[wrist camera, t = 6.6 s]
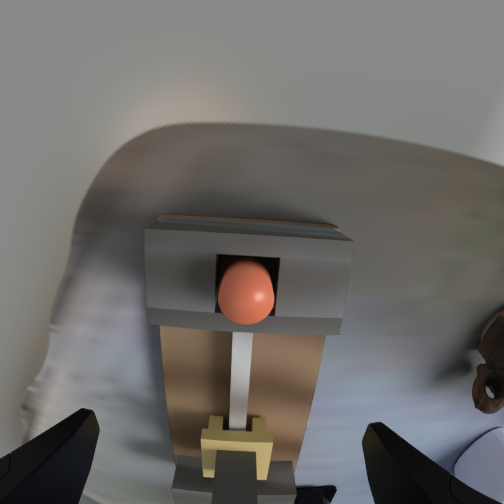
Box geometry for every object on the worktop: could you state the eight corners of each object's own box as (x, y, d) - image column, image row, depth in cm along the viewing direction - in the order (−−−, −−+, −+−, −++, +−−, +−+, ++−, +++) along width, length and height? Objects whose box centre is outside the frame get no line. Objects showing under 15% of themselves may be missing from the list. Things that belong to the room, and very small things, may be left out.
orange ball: (268, 304, 16) (271, 325, 14) (221, 301, 16) (217, 322, 14) (272, 259, 16) (276, 274, 13) (223, 256, 16) (218, 270, 13)
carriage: (265, 457, 23) (269, 529, 15) (206, 453, 23) (196, 525, 15) (271, 418, 22) (277, 498, 14) (204, 414, 21) (191, 494, 14)
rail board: (290, 469, 26) (295, 512, 20) (179, 463, 25) (170, 505, 20) (334, 224, 20) (363, 242, 15) (163, 214, 20) (134, 228, 14)
